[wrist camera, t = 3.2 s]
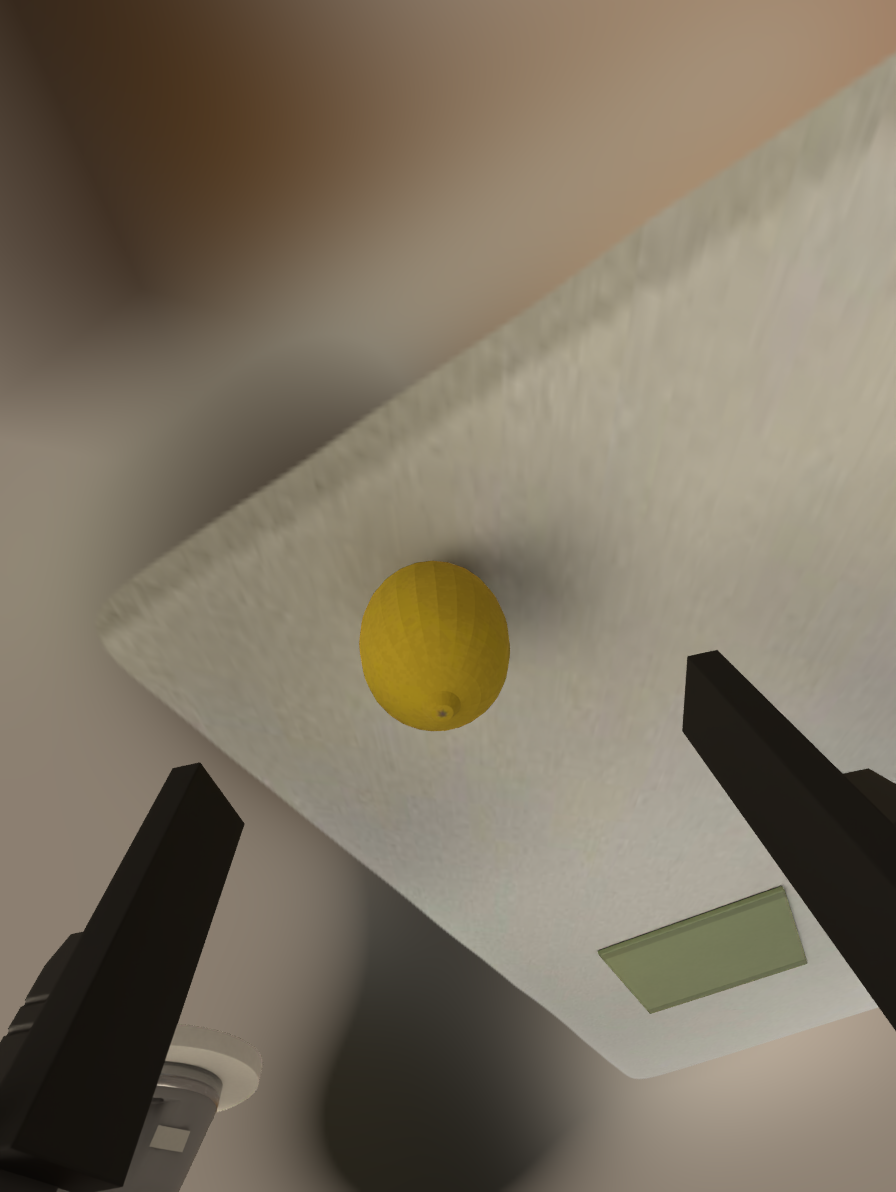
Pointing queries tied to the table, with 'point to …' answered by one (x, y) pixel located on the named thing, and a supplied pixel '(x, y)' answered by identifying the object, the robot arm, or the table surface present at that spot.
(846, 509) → the table surface
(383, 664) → the lemon
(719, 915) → the napkin
